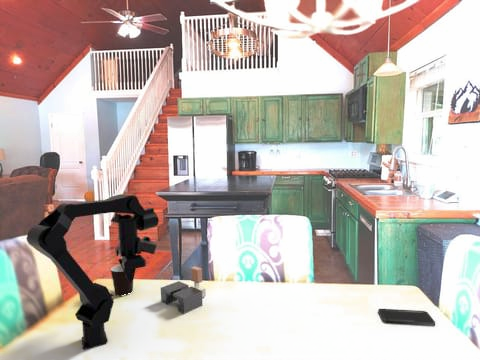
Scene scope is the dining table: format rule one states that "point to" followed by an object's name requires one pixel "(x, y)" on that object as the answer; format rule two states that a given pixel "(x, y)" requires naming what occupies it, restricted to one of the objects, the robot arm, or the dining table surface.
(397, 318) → the phone
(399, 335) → the dining table surface
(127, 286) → the coffee mug
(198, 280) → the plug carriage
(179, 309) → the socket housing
